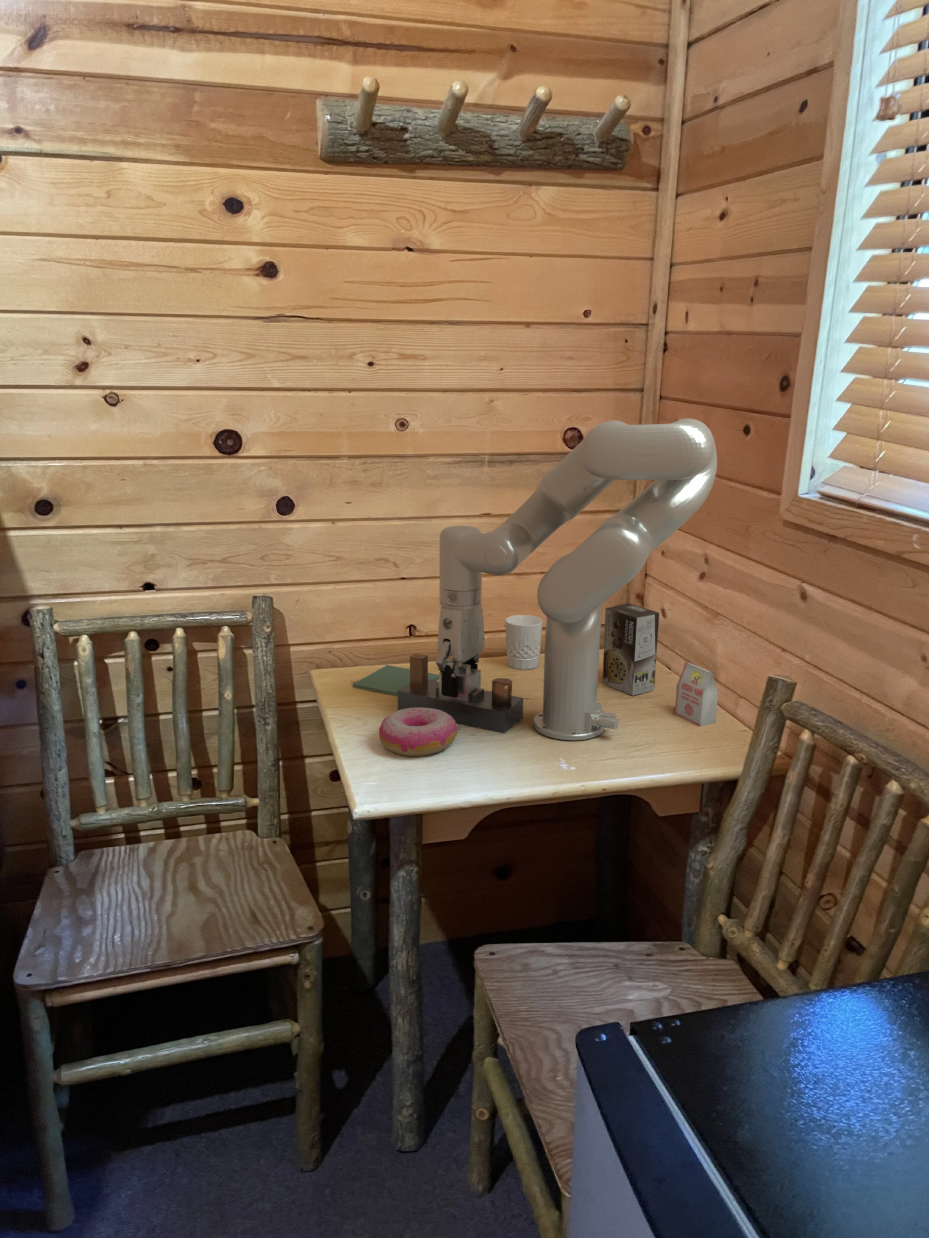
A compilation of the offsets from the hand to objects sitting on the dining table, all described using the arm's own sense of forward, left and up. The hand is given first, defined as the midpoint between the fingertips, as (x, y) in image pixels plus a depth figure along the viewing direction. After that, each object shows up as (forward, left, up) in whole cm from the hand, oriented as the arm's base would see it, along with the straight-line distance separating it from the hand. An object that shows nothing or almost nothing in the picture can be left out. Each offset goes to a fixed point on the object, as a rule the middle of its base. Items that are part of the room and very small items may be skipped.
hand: (459, 688), depth 170 cm
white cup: (+1, -31, -5) cm, 31 cm away
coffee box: (-23, -29, -5) cm, 37 cm away
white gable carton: (-39, -19, -5) cm, 44 cm away
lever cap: (0, 0, -1) cm, 1 cm away
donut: (0, +15, -6) cm, 16 cm away
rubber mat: (+19, -9, -5) cm, 22 cm away
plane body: (0, 0, -5) cm, 5 cm away
